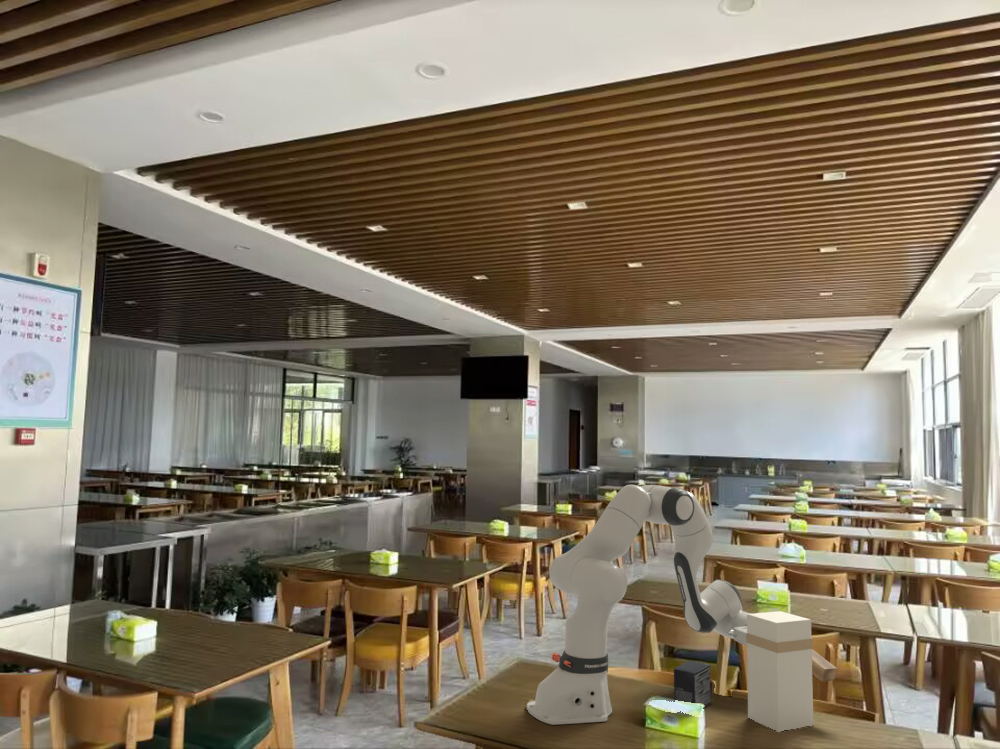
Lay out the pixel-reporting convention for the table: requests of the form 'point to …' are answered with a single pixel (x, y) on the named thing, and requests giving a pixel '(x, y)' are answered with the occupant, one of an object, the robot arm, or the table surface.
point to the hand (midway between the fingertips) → (787, 641)
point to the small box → (692, 683)
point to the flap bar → (822, 668)
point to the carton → (779, 670)
